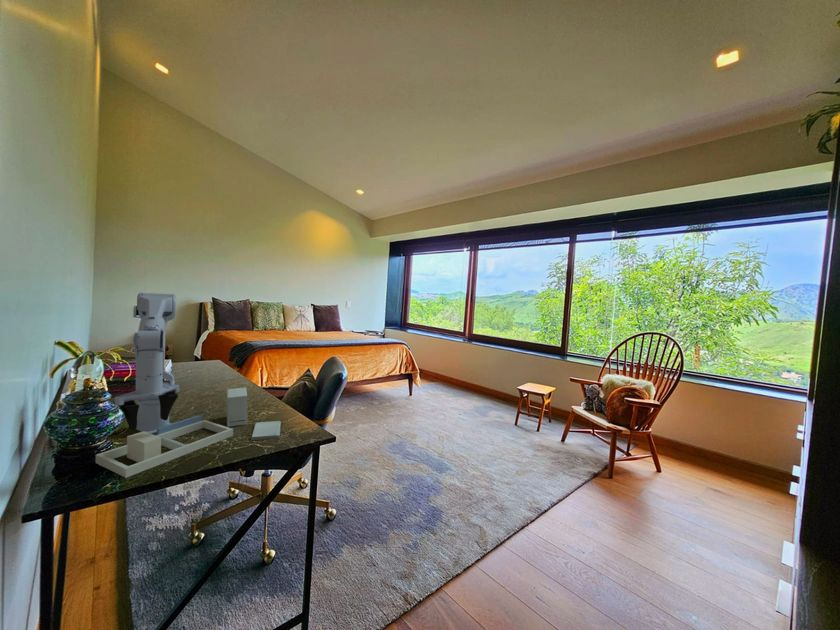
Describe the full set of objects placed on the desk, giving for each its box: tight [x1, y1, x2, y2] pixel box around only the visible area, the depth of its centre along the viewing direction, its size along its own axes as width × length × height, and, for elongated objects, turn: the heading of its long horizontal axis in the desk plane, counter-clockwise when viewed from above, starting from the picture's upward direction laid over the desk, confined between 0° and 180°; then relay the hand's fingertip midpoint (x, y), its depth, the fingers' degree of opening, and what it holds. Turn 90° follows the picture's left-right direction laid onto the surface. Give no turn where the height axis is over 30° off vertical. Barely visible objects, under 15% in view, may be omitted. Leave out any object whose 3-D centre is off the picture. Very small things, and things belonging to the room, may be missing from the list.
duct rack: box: [95, 414, 234, 478], centre depth 100 cm, size 15×29×4 cm, turn 156°
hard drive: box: [250, 420, 281, 441], centre depth 115 cm, size 2×8×12 cm
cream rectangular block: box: [126, 431, 162, 463], centre depth 94 cm, size 8×4×6 cm, turn 66°
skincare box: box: [226, 386, 248, 428], centre depth 123 cm, size 10×6×10 cm, turn 29°
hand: (149, 423), depth 94 cm, fingers open, 7 cm apart
